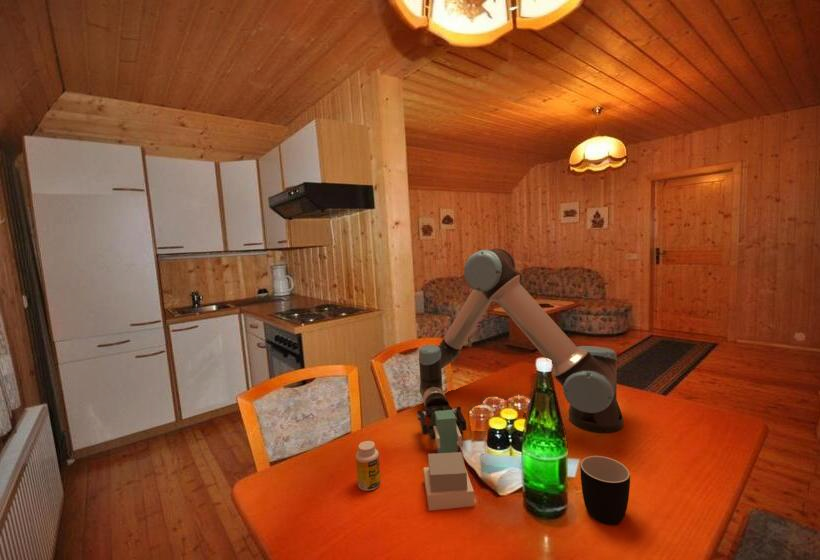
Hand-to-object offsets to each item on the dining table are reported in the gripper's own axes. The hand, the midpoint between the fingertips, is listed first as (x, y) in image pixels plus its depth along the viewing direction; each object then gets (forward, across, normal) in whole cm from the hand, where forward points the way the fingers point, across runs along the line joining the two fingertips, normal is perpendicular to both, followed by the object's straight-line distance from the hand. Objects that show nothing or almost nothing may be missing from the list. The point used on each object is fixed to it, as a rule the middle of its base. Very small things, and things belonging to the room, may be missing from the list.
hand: (449, 442), depth 96 cm
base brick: (+11, +3, -7) cm, 13 cm away
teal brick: (-5, 0, -6) cm, 8 cm away
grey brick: (+11, +3, -3) cm, 12 cm away
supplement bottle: (+5, +21, -6) cm, 22 cm away
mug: (+21, -28, -6) cm, 35 cm away
